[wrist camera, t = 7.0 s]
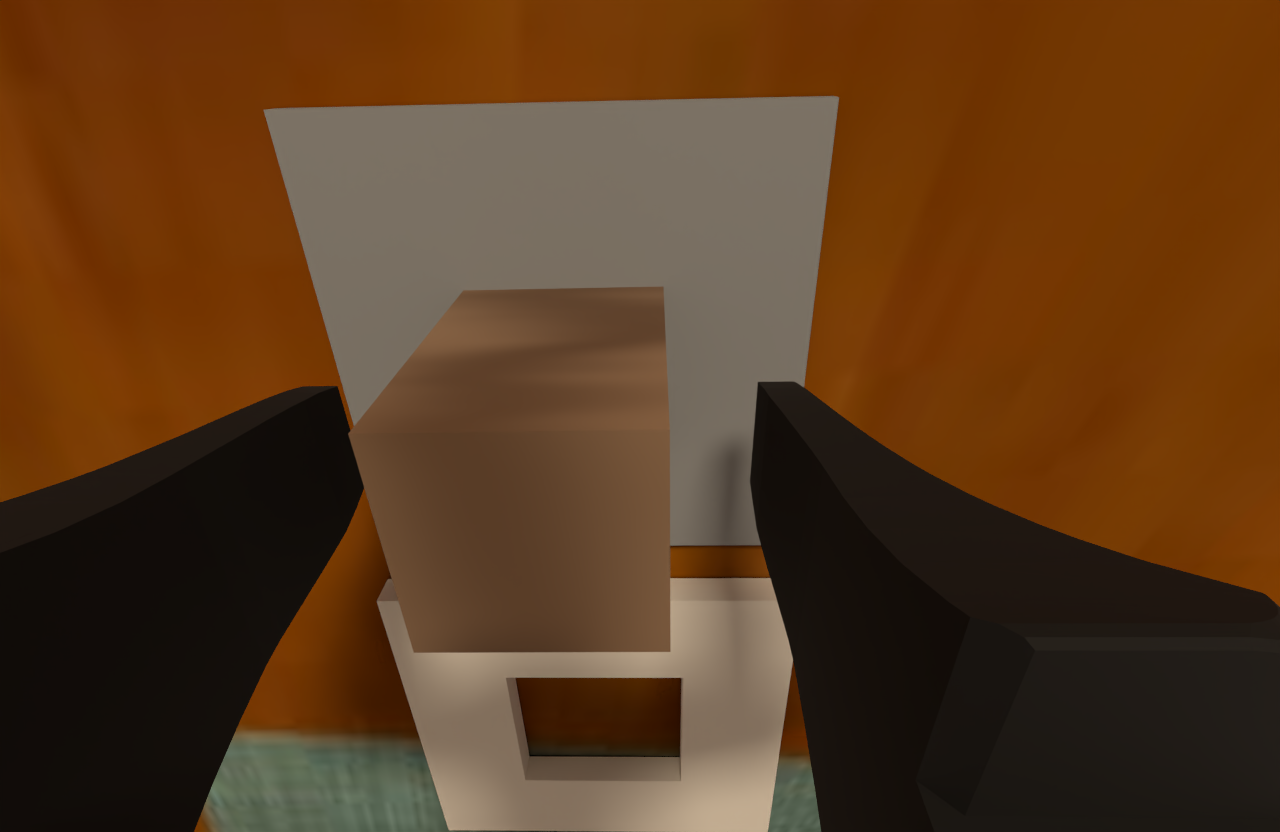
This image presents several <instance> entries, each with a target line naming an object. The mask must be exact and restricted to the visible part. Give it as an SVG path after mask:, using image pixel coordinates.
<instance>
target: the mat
mask: <svg viewBox="0 0 1280 832" xmlns="http://www.w3.org/2000/svg"><path fill="white" fill-rule="evenodd" d="M838 101H839V97H835V96H810V97H765V98H720V99H675V100H630V101H585V102H540V103H495V104H449V105H404V106H359V107H314V108H275V109H268V110H264V113H265V116H266V120H267V123H268V127H269V130H270V134H271V137H272V141H273V144H274V148H275V151H276V155H277V158H278V162H279V165H280V169H281V172H282V176H283V179H284V183H285V186H286V190H287V193H288V197H289V200H290V204H291V207H292V211H293V214H294V218H295V221H296V225H297V228H298V232H299V235H300V239H301V242H302V246H303V249H304V253H305V256H306V260H307V263H308V267H309V270H310V274H311V277H312V281H313V284H314V288H315V291H316V295H317V298H318V302H319V305H320V309H321V312H322V316H323V319H324V323H325V326H326V330H327V333H328V337H329V340H330V344H331V347H332V351H333V354H334V358H335V361H336V365H337V368H338V372H339V375H340V379H341V382H342V386H343V389H344V393H345V396H346V400H347V403H348V407H349V410H350V414H351V417H352V421H353V424H354V426H355V425H356V424H357V422H358V421H359V420H360V419H361V417H362V416H363V415H364V414H365V412H366V411H367V410H368V409H369V407H370V406H371V405H372V404H373V402H374V401H375V400H376V399H377V397H378V396H379V395H380V394H381V392H382V391H383V390H384V389H385V387H386V386H387V385H388V384H389V382H390V381H391V380H392V379H393V377H394V376H395V375H396V374H397V372H398V371H399V370H400V369H401V367H402V366H403V365H404V364H405V362H406V361H407V360H408V359H409V357H410V356H411V355H412V354H413V353H414V351H415V350H416V349H417V348H418V346H419V345H420V344H421V343H422V341H423V340H424V339H425V338H426V336H427V335H428V334H429V333H430V331H431V330H432V329H433V328H434V326H435V325H436V324H437V323H438V321H439V320H440V319H441V318H442V316H443V315H444V314H445V313H446V311H447V310H448V309H449V308H450V306H451V305H452V304H453V303H454V301H455V300H456V299H457V298H458V296H459V295H460V294H461V293H462V291H463V290H510V289H560V288H611V287H662V286H663V288H664V311H665V333H666V356H667V379H668V401H669V424H670V546H683V545H761V543H760V539H759V536H758V532H757V528H756V521H755V515H754V508H753V501H752V493H751V486H750V473H751V461H752V448H753V436H754V423H755V411H756V398H757V386H758V382H784V381H794V382H796V383H798V384H799V385H801V386H802V387H804V382H805V373H806V365H807V357H808V349H809V340H810V332H811V324H812V316H813V307H814V299H815V291H816V283H817V274H818V266H819V258H820V250H821V241H822V233H823V225H824V217H825V208H826V200H827V192H828V184H829V175H830V167H831V159H832V151H833V142H834V134H835V126H836V118H837V109H838Z"/></svg>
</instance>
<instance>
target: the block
mask: <svg viewBox="0 0 1280 832" xmlns="http://www.w3.org/2000/svg"><path fill="white" fill-rule="evenodd" d="M348 435H349V438H350V441H351V445H352V448H353V451H354V455H355V458H356V461H357V465H358V468H359V471H360V475H361V478H362V482H363V485H364V488H365V492H366V495H367V498H368V502H369V505H370V508H371V512H372V515H373V518H374V522H375V525H376V528H377V532H378V535H379V538H380V542H381V545H382V548H383V552H384V555H385V558H386V562H387V565H388V568H389V572H390V575H391V578H392V582H393V585H394V588H395V592H396V595H397V598H398V602H399V605H400V608H401V612H402V615H403V618H404V622H405V625H406V628H407V632H408V635H409V638H410V642H411V645H412V648H413V652H414V653H491V652H670V424H669V401H668V379H667V356H666V333H665V311H664V288H663V286H662V287H611V288H560V289H510V290H463V291H462V293H461V294H460V295H459V296H458V298H457V299H456V300H455V301H454V303H453V304H452V305H451V306H450V308H449V309H448V310H447V311H446V313H445V314H444V315H443V316H442V318H441V319H440V320H439V321H438V323H437V324H436V325H435V326H434V328H433V329H432V330H431V331H430V333H429V334H428V335H427V336H426V338H425V339H424V340H423V341H422V343H421V344H420V345H419V346H418V348H417V349H416V350H415V351H414V353H413V354H412V355H411V356H410V357H409V359H408V360H407V361H406V362H405V364H404V365H403V366H402V367H401V369H400V370H399V371H398V372H397V374H396V375H395V376H394V377H393V379H392V380H391V381H390V382H389V384H388V385H387V386H386V387H385V389H384V390H383V391H382V392H381V394H380V395H379V396H378V397H377V399H376V400H375V401H374V402H373V404H372V405H371V406H370V407H369V409H368V410H367V411H366V412H365V414H364V415H363V416H362V417H361V419H360V420H359V421H358V422H357V424H356V425H355V426H354V427H353V429H352V430H351V431H350V432H349V433H348Z"/></svg>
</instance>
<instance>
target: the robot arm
mask: <svg viewBox="0 0 1280 832" xmlns="http://www.w3.org/2000/svg"><path fill="white" fill-rule="evenodd" d="M349 432H350V428H349V424H348V421H347V418H346V414H345V411H344V407H343V404H342V400H341V397H340V393H339V390H338V387H337V386H308V387H299V388H296V389H292V390H289V391H286V392H283V393H280V394H277V395H274V396H272V397H269V398H267V399H264V400H262V401H259V402H257V403H255V404H252V405H250V406H247V407H245V408H243V409H240V410H238V411H236V412H233V413H231V414H229V415H227V416H224V417H222V418H220V419H218V420H215V421H213V422H211V423H208V424H206V425H204V426H202V427H199V428H197V429H195V430H192V431H190V432H188V433H186V434H183V435H181V436H179V437H176V438H174V439H171V440H169V441H166V442H164V443H162V444H159V445H157V446H154V447H152V448H149V449H147V450H145V451H142V452H140V453H137V454H135V455H132V456H130V457H128V458H125V459H123V460H120V461H118V462H115V463H113V464H110V465H108V466H105V467H103V468H100V469H97V470H95V471H92V472H89V473H86V474H84V475H81V476H78V477H75V478H73V479H70V480H67V481H64V482H61V483H58V484H55V485H52V486H49V487H46V488H43V489H40V490H37V491H34V492H32V493H29V494H26V495H23V496H19V497H16V498H13V499H10V500H7V501H4V502H0V832H194V830H195V827H196V825H197V822H198V820H199V817H200V815H201V812H202V810H203V807H204V804H205V802H206V799H207V797H208V794H209V792H210V789H211V786H212V784H213V782H214V779H215V777H216V775H217V772H218V770H219V768H220V766H221V763H222V761H223V759H224V756H225V754H226V752H227V749H228V747H229V745H230V742H231V740H232V738H233V735H234V733H235V731H236V729H237V726H238V724H239V722H240V719H241V717H242V715H243V713H244V711H245V709H246V707H247V705H248V703H249V700H250V698H251V696H252V694H253V692H254V690H255V688H256V686H257V684H258V681H259V679H260V677H261V675H262V673H263V671H264V669H265V667H266V665H267V663H268V661H269V659H270V657H271V656H272V654H273V652H274V650H275V648H276V647H277V645H278V643H279V641H280V639H281V638H282V636H283V635H284V633H285V631H286V630H287V628H288V626H289V625H290V623H291V622H292V620H293V618H294V617H295V615H296V613H297V612H298V610H299V609H300V607H301V605H302V604H303V602H304V600H305V599H306V597H307V596H308V594H309V592H310V591H311V589H312V587H313V586H314V584H315V583H316V581H317V579H318V578H319V576H320V574H321V573H322V571H323V570H324V568H325V566H326V565H327V563H328V561H329V560H330V558H331V556H332V555H333V553H334V551H335V550H336V548H337V546H338V545H339V543H340V541H341V539H342V538H343V536H344V534H345V532H346V531H347V528H348V526H349V524H350V522H351V519H352V517H353V515H354V512H355V510H356V508H357V505H358V502H359V500H360V497H361V495H362V492H363V489H364V485H363V482H362V478H361V475H360V471H359V468H358V465H357V461H356V458H355V455H354V451H353V448H352V445H351V441H350V438H349V435H348V433H349ZM750 486H751V493H752V501H753V508H754V515H755V521H756V528H757V532H758V536H759V539H760V543H761V547H762V550H763V554H764V557H765V561H766V564H767V568H768V571H769V575H770V578H771V582H772V585H773V589H774V592H775V595H776V599H777V602H778V606H779V609H780V613H781V616H782V620H783V623H784V627H785V630H786V633H787V637H788V641H789V645H790V649H791V653H792V657H793V662H794V666H795V672H796V677H797V683H798V689H799V694H800V700H801V706H802V711H803V717H804V723H805V729H806V735H807V741H808V748H809V754H810V760H811V766H812V772H813V778H814V785H815V791H816V798H817V805H818V811H819V818H820V825H821V832H1280V607H1279V606H1278V605H1277V604H1276V603H1275V602H1274V601H1272V600H1271V599H1270V598H1269V597H1268V596H1267V595H1265V594H1263V593H1261V592H1257V591H1253V590H1250V589H1246V588H1242V587H1239V586H1235V585H1231V584H1228V583H1224V582H1220V581H1216V580H1213V579H1209V578H1205V577H1202V576H1198V575H1194V574H1191V573H1187V572H1183V571H1180V570H1176V569H1172V568H1169V567H1165V566H1161V565H1158V564H1154V563H1150V562H1147V561H1144V560H1140V559H1137V558H1134V557H1131V556H1128V555H1125V554H1122V553H1119V552H1116V551H1113V550H1110V549H1107V548H1104V547H1101V546H1098V545H1095V544H1092V543H1089V542H1086V541H1083V540H1080V539H1077V538H1074V537H1071V536H1069V535H1066V534H1063V533H1061V532H1058V531H1055V530H1052V529H1050V528H1047V527H1044V526H1042V525H1039V524H1037V523H1034V522H1032V521H1030V520H1027V519H1025V518H1022V517H1020V516H1018V515H1015V514H1013V513H1010V512H1008V511H1006V510H1003V509H1001V508H999V507H996V506H994V505H992V504H989V503H987V502H985V501H983V500H981V499H979V498H976V497H974V496H972V495H970V494H968V493H966V492H964V491H962V490H960V489H958V488H956V487H954V486H952V485H950V484H949V483H947V482H945V481H943V480H941V479H939V478H937V477H935V476H933V475H931V474H929V473H928V472H926V471H924V470H922V469H921V468H919V467H917V466H915V465H914V464H912V463H910V462H909V461H907V460H905V459H904V458H902V457H901V456H899V455H898V454H896V453H894V452H893V451H891V450H890V449H888V448H886V447H885V446H883V445H882V444H880V443H879V442H877V441H876V440H874V439H873V438H871V437H870V436H868V435H867V434H866V433H864V432H863V431H861V430H860V429H858V428H857V427H856V426H854V425H853V424H852V423H850V422H849V421H847V420H846V419H845V418H843V417H842V416H841V415H839V414H838V413H837V412H835V411H834V410H833V409H831V408H830V407H829V406H828V405H826V404H825V403H824V402H822V401H821V400H820V399H818V398H817V397H816V396H814V395H813V394H812V393H810V392H809V391H808V390H806V389H805V388H804V387H802V386H801V385H799V384H798V383H796V382H794V381H784V382H758V386H757V398H756V411H755V423H754V436H753V448H752V461H751V473H750Z"/></svg>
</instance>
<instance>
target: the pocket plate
mask: <svg viewBox="0 0 1280 832" xmlns="http://www.w3.org/2000/svg"><path fill="white" fill-rule="evenodd" d="M377 604H378V607H379V610H380V614H381V617H382V620H383V623H384V626H385V629H386V633H387V636H388V639H389V642H390V645H391V648H392V652H393V655H394V658H395V661H396V664H397V667H398V671H399V674H400V677H401V680H402V683H403V686H404V690H405V693H406V696H407V699H408V702H409V705H410V709H411V712H412V715H413V718H414V721H415V724H416V728H417V731H418V734H419V737H420V740H421V743H422V747H423V750H424V753H425V756H426V759H427V762H428V766H429V769H430V772H431V775H432V778H433V781H434V785H435V788H436V791H437V794H438V797H439V800H440V804H441V807H442V810H443V813H444V816H445V819H446V823H447V826H448V829H449V830H500V831H624V832H768V826H769V819H770V813H771V806H772V799H773V792H774V785H775V779H776V772H777V765H778V758H779V751H780V745H781V738H782V731H783V724H784V717H785V711H786V704H787V697H788V690H789V683H790V677H791V670H792V663H793V657H792V653H791V649H790V645H789V641H788V637H787V633H786V630H785V627H784V623H783V620H782V616H781V613H780V609H779V606H778V602H777V599H776V595H775V592H774V589H773V585H772V582H771V578H670V652H491V653H414V652H413V648H412V645H411V642H410V638H409V635H408V632H407V628H406V625H405V622H404V618H403V615H402V612H401V608H400V605H399V602H398V598H397V595H396V592H395V588H394V585H393V582H392V579H388V580H387V581H386V583H385V585H384V587H383V589H382V591H381V593H380V595H379V597H378V599H377ZM516 678H681V721H680V757H552V756H529V751H528V745H527V739H526V734H525V728H524V723H523V717H522V712H521V706H520V700H519V695H518V689H517V684H516Z"/></svg>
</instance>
